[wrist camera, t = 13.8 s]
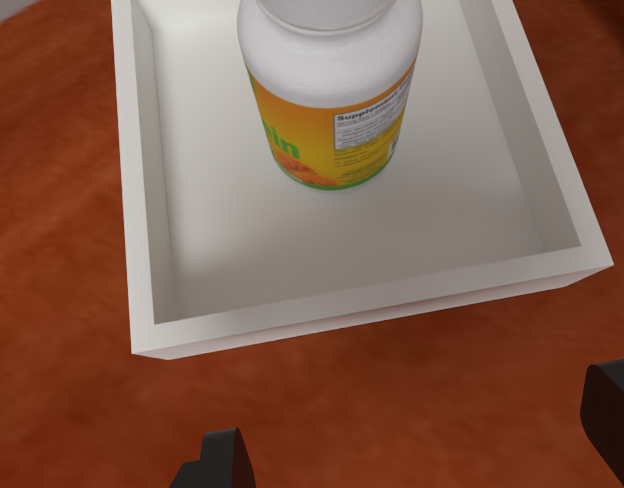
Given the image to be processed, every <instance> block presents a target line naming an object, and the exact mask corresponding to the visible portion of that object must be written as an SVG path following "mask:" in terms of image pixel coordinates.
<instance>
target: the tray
mask: <svg viewBox="0 0 624 488" xmlns="http://www.w3.org/2000/svg"><path fill="white" fill-rule="evenodd" d="M240 1H241V0H111V5H112V22H113V39H114V56H115V74H116V91H117V108H118V125H119V142H120V159H121V176H122V194H123V211H124V228H125V245H126V262H127V279H128V296H129V313H130V331H131V348H132V354H137V355H143V356H149V357H155V358H161V359H166V360H171V359H176V358H181V357H187V356H192V355H198V354H203V353H209V352H214V351H219V350H225V349H230V348H236V347H241V346H246V345H252V344H257V343H263V342H268V341H274V340H279V339H284V338H290V337H295V336H301V335H306V334H312V333H317V332H322V331H328V330H333V329H339V328H344V327H349V326H355V325H360V324H366V323H371V322H377V321H382V320H387V319H393V318H398V317H404V316H409V315H415V314H420V313H425V312H431V311H436V310H442V309H447V308H452V307H458V306H463V305H469V304H474V303H480V302H485V301H490V300H496V299H501V298H507V297H512V296H517V295H523V294H528V293H534V292H539V291H545V290H550V289H555V288H561V287H565V286H567V285H570V284H572V283H574V282H576V281H579V280H581V279H583V278H585V277H588V276H590V275H592V274H594V273H597V272H599V271H601V270H603V269H606V268H608V267H610V266H612V265H614V263H613V261H612V258H611V255H610V253H609V250H608V248H607V245H606V242H605V240H604V237H603V235H602V232H601V229H600V227H599V224H598V222H597V219H596V216H595V214H594V211H593V209H592V206H591V203H590V201H589V198H588V196H587V193H586V190H585V188H584V185H583V183H582V180H581V177H580V175H579V172H578V170H577V167H576V164H575V162H574V159H573V157H572V154H571V151H570V149H569V146H568V144H567V141H566V138H565V136H564V133H563V131H562V128H561V126H560V123H559V120H558V118H557V115H556V113H555V110H554V107H553V105H552V102H551V100H550V97H549V94H548V92H547V89H546V87H545V84H544V81H543V79H542V76H541V74H540V71H539V68H538V66H537V63H536V61H535V58H534V55H533V53H532V50H531V48H530V45H529V42H528V40H527V37H526V35H525V32H524V29H523V27H522V24H521V22H520V19H519V16H518V14H517V11H516V9H515V6H514V4H513V1H512V0H421V3H422V10H423V27H422V34H421V41H420V46H419V51H418V54H417V59H416V63H415V67H414V72H413V76H412V81H411V85H410V90H409V95H408V99H407V103H406V107H405V112H404V116H403V120H402V125H401V129H400V134H399V138H398V142H397V145H396V149H395V152H394V154H393V156H392V158H391V160H390V162H389V164H388V165H387V167H386V168H385V169H384V171H383V172H382V173H381V174H380V175H379V176H378V177H377V178H376V179H374V180H373V181H372V182H370V183H369V184H367V185H365V186H363V187H361V188H359V189H356V190H353V191H350V192H346V193H340V194H323V193H317V192H313V191H310V190H307V189H305V188H303V187H301V186H299V185H297V184H295V183H294V182H292V181H291V180H290V179H289V178H288V177H287V176H286V175H285V174H284V173H283V172H282V171H281V170H280V169H279V167H278V165H277V164H276V162H275V160H274V158H273V155H272V153H271V150H270V147H269V144H268V140H267V137H266V133H265V130H264V126H263V123H262V120H261V116H260V113H259V109H258V106H257V102H256V99H255V96H254V93H253V89H252V86H251V83H250V79H249V76H248V73H247V69H246V66H245V63H244V59H243V56H242V52H241V48H240V44H239V40H238V33H237V16H238V9H239V4H240Z"/></svg>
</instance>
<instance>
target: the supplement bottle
mask: <svg viewBox="0 0 624 488" xmlns="http://www.w3.org/2000/svg"><path fill="white" fill-rule="evenodd" d="M422 27H423V10H422V3H421V0H241V1H240V4H239V9H238V16H237V33H238V40H239V44H240V48H241V52H242V56H243V59H244V63H245V66H246V69H247V73H248V76H249V79H250V83H251V86H252V89H253V93H254V96H255V99H256V102H257V106H258V109H259V113H260V116H261V120H262V123H263V126H264V130H265V133H266V137H267V140H268V144H269V147H270V150H271V153H272V155H273V158H274V160H275V162H276V164H277V165H278V167H279V169H280V170H281V171H282V172H283V173H284V174H285V175H286V176H287V177H288V178H289V179H290V180H291V181H292V182H294V183H295V184H297V185H299V186H301V187H303V188H305V189H307V190H310V191H313V192H317V193H323V194H340V193H346V192H350V191H353V190H356V189H359V188H361V187H363V186H365V185H367V184H369V183H370V182H372V181H373V180H374V179H376V178H377V177H378V176H379V175H380V174H381V173H382V172H383V171H384V169H385V168H386V167H387V165H388V164H389V162H390V160H391V158H392V156H393V154H394V152H395V149H396V145H397V142H398V138H399V134H400V129H401V125H402V120H403V116H404V112H405V107H406V103H407V99H408V95H409V90H410V85H411V81H412V76H413V72H414V67H415V63H416V59H417V54H418V51H419V46H420V41H421V34H422Z"/></svg>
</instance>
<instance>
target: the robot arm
mask: <svg viewBox="0 0 624 488" xmlns="http://www.w3.org/2000/svg"><path fill="white" fill-rule="evenodd" d="M580 417H581V422H582V426H583V428H584V431H585V433H586V435H587V437H588V439H589V440H590V441H591V443H592V444H593V446H594V447H595V448H596V450H597V451H598V452H599V454H600V455H601V456H602V458H603V459H604V460H605V462H606V463H607V464H608V466H609V467H610V469H611V470H612V471H613V473H614V474H615V475H616V477H617V478H618V479H619V481H620V482H621V483H622V485H623V486H624V359H621V360H615V361H610V362H604V363H598V364H593V365H590V366H589V367H588V369H587V372H586V378H585V384H584V391H583V397H582V403H581V409H580ZM169 488H256V485H255V478H254V473H253V469H252V466H251V463H250V460H249V456H248V453H247V450H246V447H245V444H244V441H243V438H242V435H241V432H240V430H239V428H232V429H226V430H221V431H215V432H209V433H205V435H204V437H203V441H202V448H201V455H200V460H197V461H192V462H186V463H183V465H182V466H181V468H180V470H179V471H178V473H177V475H176V476H175V478H174V480H173V482H172V483H171V485H170V487H169Z"/></svg>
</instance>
